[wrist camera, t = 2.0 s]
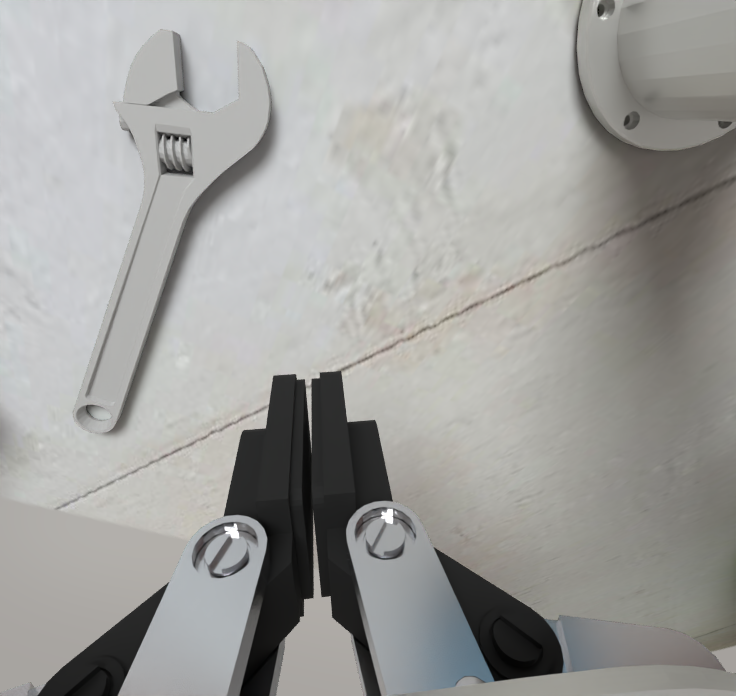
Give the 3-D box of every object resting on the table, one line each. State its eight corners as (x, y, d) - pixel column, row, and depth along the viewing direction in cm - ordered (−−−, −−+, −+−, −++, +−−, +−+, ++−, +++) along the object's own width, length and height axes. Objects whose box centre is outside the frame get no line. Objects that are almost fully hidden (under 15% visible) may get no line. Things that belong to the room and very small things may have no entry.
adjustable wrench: (120, 425, 31) (109, 441, 30) (20, 388, 29) (3, 404, 27) (290, 83, 22) (288, 82, 21) (164, -8, 20) (152, -17, 18)
